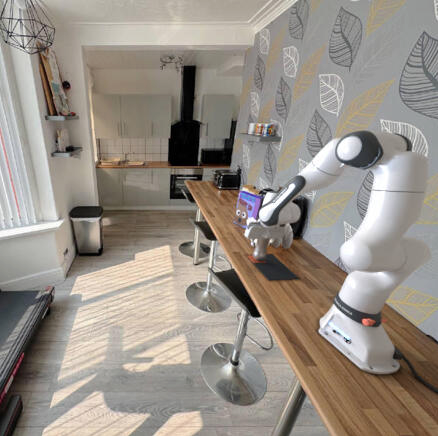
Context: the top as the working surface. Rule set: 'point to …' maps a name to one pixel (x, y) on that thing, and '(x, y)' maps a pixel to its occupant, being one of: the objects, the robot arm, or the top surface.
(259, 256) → the plastic bottle
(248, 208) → the cereal box
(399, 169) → the robot arm
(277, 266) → the mat
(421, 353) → the top surface
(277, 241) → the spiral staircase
